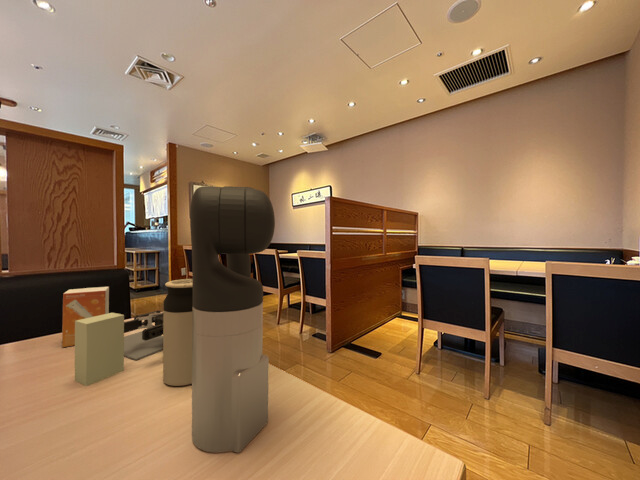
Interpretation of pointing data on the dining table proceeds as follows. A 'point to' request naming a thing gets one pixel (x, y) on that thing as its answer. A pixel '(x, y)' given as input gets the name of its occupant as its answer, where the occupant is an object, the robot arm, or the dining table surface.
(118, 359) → the tall tan pillar block
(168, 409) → the dining table surface
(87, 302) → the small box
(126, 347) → the rubber mat
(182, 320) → the travel mug
